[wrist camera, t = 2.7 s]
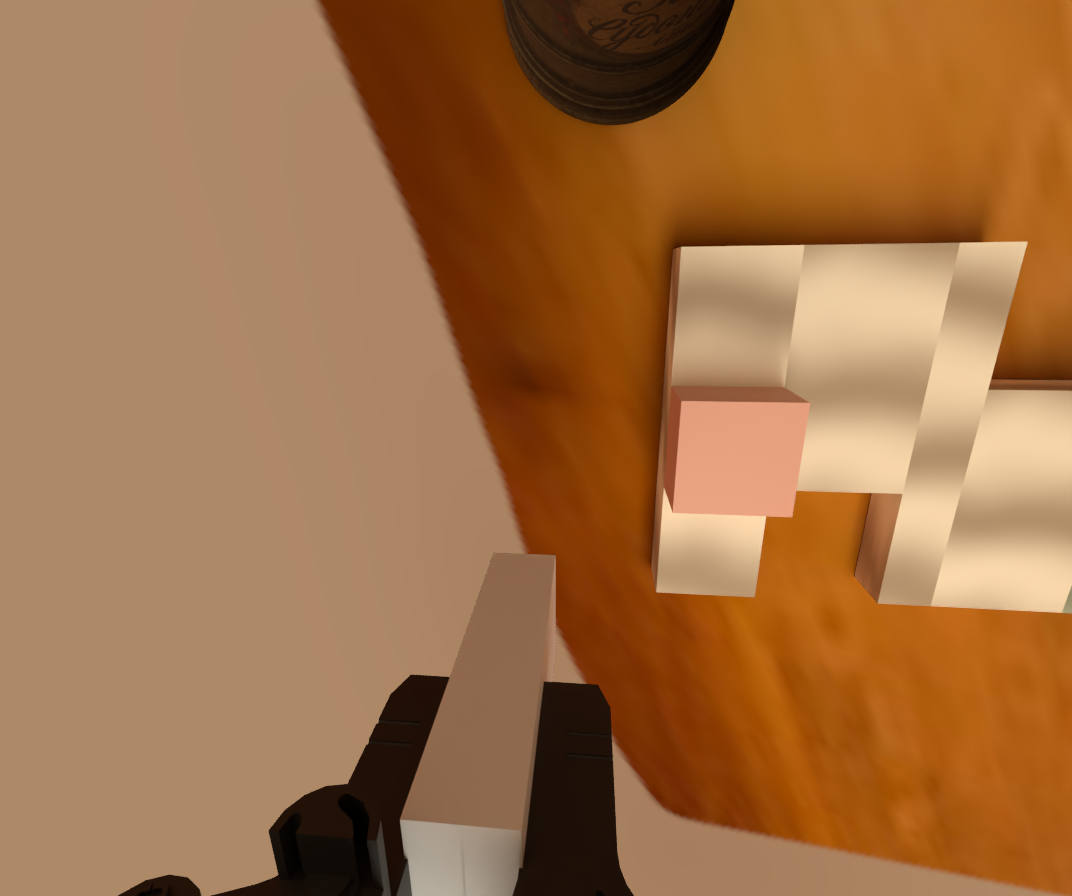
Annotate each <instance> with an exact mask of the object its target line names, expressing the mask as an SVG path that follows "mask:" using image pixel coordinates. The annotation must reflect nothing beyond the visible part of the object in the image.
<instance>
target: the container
mask: <svg viewBox="0 0 1072 896" xmlns="http://www.w3.org/2000/svg"><path fill="white" fill-rule="evenodd" d="M502 1H503V7H504V14H505V21H506V27H507V31H508V35H509V39H510V42H511V45H512V48H513V50H514V52H515V55H516V58H517V60H518V63H519V65H520V67H521V68H522V70H523V72H524V74H525V75H526V77H527V78H528V80H529V81H530V82H531V84H532V85H533V86H534V87H535V89H536V90H537V91H538V92H539V93H540V94H541V95H542V96H543V97H544V98H545V99H546V100H548V101H549V102H550V103H551V104H552V105H554V106H555V107H556V108H558V109H559V110H561V111H563V112H564V113H566V114H568V115H570V116H572V117H574V118H577V119H580V120H583V121H586V122H590V123H595V124H602V125H619V124H628V123H633V122H636V121H639V120H643V119H645V118H648V117H650V116H652V115H655V114H657V113H659V112H660V111H662V110H664V109H665V108H667V107H669V106H670V105H671V104H673V103H674V102H676V101H677V100H678V99H679V98H680V97H682V96H683V95H684V94H685V93H686V92H687V91H688V90H689V89H690V88H691V87H692V86H693V85H694V84H695V82H696V81H697V80H698V79H699V78H700V76H701V75H702V74H703V72H704V71H705V69H706V68H707V66H708V64H709V63H710V61H711V59H712V58H713V56H714V54H715V52H716V50H717V48H718V46H719V43H720V41H721V38H722V36H723V33H724V30H725V27H726V24H727V21H728V19H729V16H730V13H731V11H732V8H733V5H734V1H735V0H502Z"/></svg>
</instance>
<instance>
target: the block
mask: <svg viewBox="0 0 1072 896" xmlns="http://www.w3.org/2000/svg"><path fill="white" fill-rule="evenodd" d="M809 408H810V402H808V401H806V400H805V399H803V398H801V397H800V396H798V395H796V394H795V393H793V392H791V391H789V390H788V389H786V388H784V387H702V386H671V396H670V409H669V423H668V437H667V450H666V464H665V478H664V489H665V492H666V495H667V498H668V501H669V504H670V507H671V510H672V513H688V514H716V515H744V516H772V517H792V515H793V509H794V502H795V496H796V490H797V484H798V477H799V471H800V465H801V458H802V452H803V446H804V440H805V433H806V427H807V421H808V415H809Z"/></svg>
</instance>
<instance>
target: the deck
mask: <svg viewBox="0 0 1072 896" xmlns="http://www.w3.org/2000/svg"><path fill="white" fill-rule="evenodd" d="M1026 246H1027V242H973V243H905V244H837V245H769V246H701V247H679V248H676V249H673V255H672V270H671V285H670V299H669V314H668V329H667V343H666V358H665V373H664V387H663V402H662V417H661V431H660V446H659V461H658V475H657V490H656V505H655V519H654V534H653V549H652V563H651V568H652V573H653V579H654V584H655V589H656V592H663V593H683V594H703V595H722V596H742V597H755V591H756V584H757V577H758V570H759V563H760V556H761V549H762V542H763V534H764V527H765V520H766V516H744V515H716V514H688V513H672V510H671V507H670V504H669V501H668V498H667V495H666V492H665V489H664V478H665V464H666V450H667V437H668V423H669V409H670V396H671V386H702V387H784V388H786V389H788V390H789V391H791V392H793V393H795V394H796V395H798V396H800V397H801V398H803V399H805V400H806V401H808V402H810V408H809V415H808V421H807V427H806V433H805V440H804V446H803V452H802V458H801V465H800V471H799V477H798V484H797V490H796V491H822V492H855V493H872V494H871V499H870V504H869V509H868V513H867V518H866V523H865V528H864V533H863V537H862V542H861V547H860V552H859V557H858V561H857V566H856V571H855V576H854V577H855V578H856V579H857V580H858V581H859V582H860V583H861V585H862V586H863V587H864V588H865V589H866V590H867V592H868V593H869V594H870V595H871V596H872V597H873V599H874V600H875V601H876V602H877V603H880V604H900V605H920V606H940V607H960V608H979V609H999V610H1019V611H1039V612H1058V613H1072V380H1008V379H991V377H992V374H993V370H994V366H995V362H996V359H997V355H998V351H999V347H1000V344H1001V340H1002V336H1003V332H1004V328H1005V325H1006V321H1007V317H1008V313H1009V310H1010V306H1011V302H1012V298H1013V295H1014V291H1015V287H1016V283H1017V280H1018V276H1019V272H1020V268H1021V265H1022V261H1023V257H1024V253H1025V250H1026Z"/></svg>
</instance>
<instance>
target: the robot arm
mask: <svg viewBox="0 0 1072 896" xmlns="http://www.w3.org/2000/svg"><path fill="white" fill-rule="evenodd" d="M555 589H556V555H535V554H510V553H493V556H492V559H491V561H490V564H489V567H488V570H487V573H486V576H485V579H484V582H483V584H482V587H481V590H480V593H479V596H478V598H477V601H476V604H475V607H474V610H473V613H472V616H471V618H470V621H469V624H468V627H467V630H466V633H465V635H464V638H463V641H462V644H461V647H460V650H459V652H458V655H457V658H456V661H455V664H454V667H453V670H452V672H451V675H450V677H440V676H424V675H410V676H409V677H408V678H407V679H406V680H405V681H404V682H403V683H402V684H401V685H400V686H399V687H398V688H397V689H396V690H395V691H394V692H393V693H392V694H391V695H390V697H389V699H388V701H387V703H386V705H385V707H384V709H383V711H382V714H381V716H380V718H379V723H378V724H376V726H375V728H374V730H373V732H372V734H371V737H370V738H369V744H368V745H366V747H365V749H364V751H363V753H362V755H361V757H360V759H359V762H358V763H357V766H356V768H355V770H354V772H353V774H352V776H351V778H350V780H349V782H348V784H344V785H333V786H325V787H323V788H320V789H318V790H316V791H313V792H311V793H309V794H306V795H304V796H303V797H301V798H300V799H299V800H298V801H296V802H295V803H294V804H292V805H291V806H290V807H288V808H287V809H286V810H285V811H284V812H283V813H282V814H281V816H280V817H279V818H278V819H277V821H276V822H275V823H274V825H273V826H272V827H271V828H270V830H269V835H270V839H271V843H272V848H273V852H274V857H275V861H276V866H277V870H278V874H279V875H278V876H276V877H274V878H272V879H269V880H266V881H264V882H261V883H258V884H255V885H251V886H247V887H243V888H240V889H236V890H232V891H228V892H224V893H220V894H216V895H212V896H634V895H633V894H632V892H631V891H630V889H629V888H628V886H627V885H626V882H625V879H624V877H623V874H622V872H621V869H620V865H619V860H618V853H617V838H616V816H615V796H614V777H613V776H614V775H613V754H612V733H611V712H610V706H609V704H608V703H607V701H606V699H605V697H604V695H603V693H602V692H601V690H600V688H599V686H598V685H592V684H576V683H561V682H552V681H553V669H554V659H555ZM118 896H201V893H200V889H199V888H198V887H197V886H196V885H195V884H194V883H193V882H192V881H191V880H190V879H189V878H187V877H180V876H174V875H167V876H162V877H158V878H154V879H150V880H146V881H144V882H142V883H140V884H138V885H136V886H135V887H133V888H131V889H129V890H127V891H126V892H124V893H122V894H120V895H118Z"/></svg>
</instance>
